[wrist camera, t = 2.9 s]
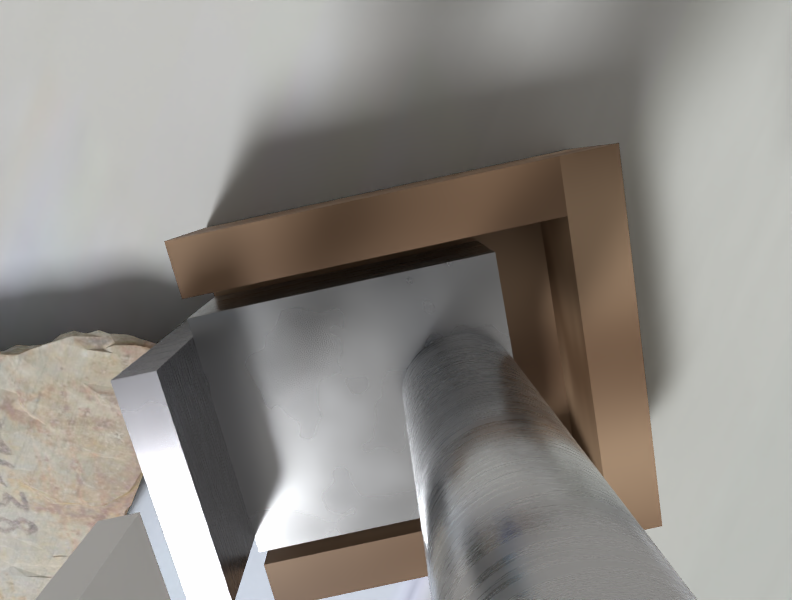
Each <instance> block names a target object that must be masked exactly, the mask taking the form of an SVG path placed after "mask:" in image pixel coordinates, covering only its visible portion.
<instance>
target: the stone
mask: <svg viewBox="0 0 792 600" xmlns="http://www.w3.org/2000/svg"><path fill="white" fill-rule="evenodd" d="M154 345H156V343H153V342H149V341H146V340H143V339H139V338H137V337H135V336H131V335H126V334H109V333H106V332H103V331H100V330H97V331H94V332H90V333H82V332H77V331H75V330H74V331H71V332H68V333H64V334H61V335H59V336H58V337H57V338H56V339H55V340H53V341H52V342H49V343H46V344H43V345H32V346H25V345H15V346H13V347H11V348H9V349H6V350H4V351H0V600H35V599H36V598H37V597H38V595H39V594H40V593H41V592H42V590H43V589H44V588H45V587H46V585H47V584H48V583H49V582H50V580H51V579H52V578H53V577H54V575H55V574H56V573H57V572H58V570H59V569H60V568H61V567H62V565H63V564H64V563H65V561H66V560H67V559H68V558H69V556H70V555H71V554H72V553H73V551H74V550H75V549H76V548H77V546H78V545H79V544H80V543H81V541H82V540H83V539H84V538H85V536H86V535H87V534H88V533H89V531H90V530H91V529H92V528H93V526H94V525H95V524H96V523H97V521H101V520H105V519H110V518H115V517H119V516H124V515H127V512H128V510H129V507H130V506H131V504H132V502H133V499H134V497H135V494H136V492H137V489H138V487H139V484H140V482H141V479H142V477H143V472H142V470H141V467H140V464H139V461H138V458H137V455H136V453H135V450H134V447H133V444H132V441H131V438H130V436H129V433H128V430H127V427H126V424H125V421H124V418H123V416H122V413H121V410H120V407H119V404H118V401H117V399H116V396H115V393H114V390H113V387H112V384H111V380H112V379H113V378H114V377H116V376H117V375H118V374H119V373H121V372H122V371H123V370H124V369H126V368H127V367H128V366H129V365H131V364H132V363H133V362H134V361H136V360H137V359H138V358H139V357H141V356H142V355H143V354H144V353H146V352H147V351H148V350H149V349H151V348H152V347H153V346H154Z"/></svg>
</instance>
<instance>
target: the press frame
mask: <svg viewBox="0 0 792 600" xmlns="http://www.w3.org/2000/svg"><path fill="white" fill-rule="evenodd" d="M472 241H478V242H480V243H482V244H483V245H485V246H486V247H488V248H489V249H491V250H493V251H494V252H495V254H496V260H497V266H498V272H499V278H500V283H501V289H502V295H503V301H504V307H505V313H506V319H507V325H508V330H509V336H510V342H511V348H512V354H513V359H514V361H515V362H516V363H517V365H518V366H519V367H520V369H521V370H522V371H523V373H524V374H525V375H526V376H527V378H528V379H529V380H530V382H531V383H532V384H533V386H534V387H535V388H536V390H537V391H538V392H539V393H540V395H541V396H542V397H543V399H544V400H545V401H546V403H547V404H548V405H549V407H550V408H551V409H552V410H553V412H554V413H555V414H556V416H557V417H558V418H559V420H560V421H561V422H562V424H563V425H564V426H565V427H566V429H567V430H568V431H569V433H570V434H571V435H572V437H573V438H574V439H575V441H576V442H577V443H578V444H579V446H580V447H581V448H582V450H583V451H584V452H585V454H586V455H587V456H588V458H589V459H590V460H591V461H592V463H593V464H594V465H595V467H596V468H597V469H598V471H599V472H600V473H601V475H602V476H603V477H604V478H605V480H606V481H607V482H608V484H609V485H610V486H611V488H612V489H613V490H614V492H615V493H616V494H617V495H618V497H619V498H620V499H621V501H622V502H623V503H624V505H625V506H626V507H627V509H628V510H629V511H630V512H631V514H632V515H633V516H634V518H635V519H636V520H637V522H638V523H639V524H640V526H641V527H642V528H643V529H644V530H646V529H650V528H655V527H660V526H662V520H661V511H660V503H659V494H658V485H657V476H656V467H655V458H654V449H653V441H652V432H651V423H650V414H649V405H648V396H647V388H646V379H645V370H644V361H643V352H642V343H641V334H640V326H639V317H638V308H637V299H636V290H635V281H634V273H633V264H632V255H631V246H630V237H629V228H628V219H627V211H626V202H625V193H624V184H623V175H622V166H621V158H620V149H619V143H616V144H608V145H599V146H591V147H583V148H574V149H568V150H563V151H558V152H554V153H549V154H544V155H540V156H535V157H531V158H526V159H521V160H517V161H512V162H507V163H503V164H498V165H494V166H489V167H484V168H480V169H475V170H470V171H466V172H461V173H457V174H452V175H447V176H443V177H438V178H433V179H429V180H424V181H420V182H415V183H410V184H406V185H401V186H397V187H392V188H387V189H383V190H378V191H373V192H369V193H364V194H360V195H355V196H350V197H346V198H341V199H336V200H332V201H327V202H323V203H318V204H313V205H309V206H304V207H299V208H295V209H290V210H286V211H281V212H276V213H272V214H267V215H262V216H258V217H253V218H249V219H244V220H239V221H235V222H230V223H225V224H221V225H216V226H212V227H207V228H203V229H200V230H197V231H194V232H191V233H188V234H185V235H182V236H179V237H176V238H173V239H170V240H167V241H164V242H165V245H166V248H167V252H168V255H169V258H170V261H171V265H172V268H173V271H174V274H175V278H176V281H177V284H178V287H179V291H180V294H181V297H182V299H185V298H190V297H194V296H199V295H203V294H208V293H214V296H215V297H217V296H222V295H227V294H231V293H236V292H240V291H245V290H250V289H254V288H259V287H264V286H268V285H273V284H277V283H282V282H287V281H291V280H296V279H301V278H305V277H310V276H315V275H319V274H324V273H328V272H333V271H338V270H342V269H347V268H352V267H356V266H361V265H366V264H370V263H375V262H379V261H384V260H389V259H393V258H398V257H403V256H407V255H412V254H416V253H421V252H426V251H430V250H435V249H440V248H444V247H449V246H454V245H458V244H463V243H467V242H472ZM264 566H265V570H266V573H267V576H268V579H269V583H270V586H271V589H272V592H273V596H274V599H275V600H318V599H322V598H327V597H332V596H336V595H341V594H346V593H351V592H355V591H360V590H365V589H369V588H374V587H379V586H383V585H388V584H393V583H397V582H402V581H407V580H411V579H416V578H421V577H425V576H428V571H427V564H426V557H425V550H424V543H423V536H422V529H421V522H420V518H417V519H413V520H408V521H403V522H399V523H394V524H389V525H385V526H380V527H375V528H371V529H366V530H361V531H357V532H352V533H347V534H343V535H338V536H333V537H329V538H324V539H319V540H315V541H310V542H305V543H300V544H296V545H291V546H286V547H282V548H277V549H272V550H268V552H267V556H266V560H265V563H264Z"/></svg>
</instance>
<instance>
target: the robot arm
mask: <svg viewBox="0 0 792 600" xmlns="http://www.w3.org/2000/svg"><path fill="white" fill-rule="evenodd" d="M35 600H170V597H169V594H168V591H167V588H166V585H165V583H164V580H163V577H162V574H161V571H160V569H159V566H158V563H157V560H156V557H155V554H154V552H153V549H152V546H151V543H150V540H149V538H148V535H147V532H146V529H145V526H144V524H143V521H142V518H141V515H140V512H138V513H134V514H129V515H124V516H119V517H115V518H110V519H105V520H101V521H97V523H96V524H95V525H94V526H93V528H92V529H91V530H90V531H89V533H88V534H87V535H86V536H85V538H84V539H83V540H82V541H81V543H80V544H79V545H78V546H77V548H76V549H75V550H74V551H73V553H72V554H71V555H70V556H69V558H68V559H67V560H66V561H65V563H64V564H63V565H62V567H61V568H60V569H59V570H58V572H57V573H56V574H55V575H54V577H53V578H52V579H51V580H50V582H49V583H48V584H47V585H46V587H45V588H44V589H43V590H42V592H41V593H40V594H39V595H38V597H37V598H36V599H35Z"/></svg>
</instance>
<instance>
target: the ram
mask: <svg viewBox="0 0 792 600" xmlns="http://www.w3.org/2000/svg"><path fill="white" fill-rule="evenodd" d="M187 319H188V320H186V321H185V322H183V323H182V324H181V325H180V326H178V327H177V328H176V329H175V330H173V331H172V332H171V333H170V334H168V335H167V336H166V337H165V338H163V339H162V340H161V341H160V342H158V343H157V344H156V345H154V346H153V347H152V348H151V349H149V350H148V351H147V352H146V353H144V354H143V355H142V356H141V357H139V358H138V359H137V360H136V361H134V362H133V363H132V364H131V365H129V366H128V367H127V368H126V369H124V370H123V371H122V372H121V373H119V374H118V375H117V376H116V377H114V378H113V379H112V380H111V384H112V387H113V390H114V393H115V396H116V399H117V401H118V404H119V407H120V410H121V413H122V416H123V418H124V421H125V424H126V427H127V430H128V433H129V436H130V438H131V441H132V444H133V447H134V450H135V453H136V455H137V458H138V461H139V464H140V467H141V470H142V472H143V475H144V478H145V481H146V484H147V487H148V490H149V492H150V495H151V498H152V501H153V504H154V507H155V509H156V512H157V515H158V518H159V521H160V524H161V527H162V529H163V532H164V535H165V538H166V541H167V544H168V546H169V549H170V552H171V555H172V558H173V561H174V564H175V566H176V569H177V572H178V575H179V578H180V581H181V583H182V586H183V589H184V592H185V595H186V598H187V600H235V597H236V594H237V591H238V588H239V585H240V582H241V579H242V576H243V572H244V569H245V566H246V563H247V560H248V557H249V554H250V550H251V547H252V544H253V541H254V538H255V540H256V543H257V546H258V549H259V552H263V551H268V550H272V549H277V548H282V547H286V546H291V545H296V544H300V543H305V542H310V541H315V540H319V539H324V538H329V537H333V536H338V535H343V534H347V533H352V532H357V531H361V530H366V529H371V528H375V527H380V526H385V525H389V524H394V523H399V522H403V521H408V520H413V519H417V518H420V522H421V529H422V536H423V543H424V550H425V557H426V564H427V571H428V578H429V585H430V592H431V599H432V600H697V599H696V597H695V596H694V595H693V594H692V592H691V591H690V590H689V588H688V587H687V586H686V584H685V583H684V582H683V580H682V579H681V578H680V577H679V575H678V574H677V573H676V571H675V570H674V569H673V567H672V566H671V565H670V563H669V562H668V561H667V560H666V558H665V557H664V556H663V554H662V553H661V552H660V550H659V549H658V548H657V546H656V545H655V544H654V543H653V541H652V540H651V539H650V537H649V536H648V535H647V533H646V532H645V531H644V529H643V528H642V527H641V526H640V524H639V523H638V522H637V520H636V519H635V518H634V516H633V515H632V514H631V512H630V511H629V510H628V509H627V507H626V506H625V505H624V503H623V502H622V501H621V499H620V498H619V497H618V495H617V494H616V493H615V492H614V490H613V489H612V488H611V486H610V485H609V484H608V482H607V481H606V480H605V478H604V477H603V476H602V475H601V473H600V472H599V471H598V469H597V468H596V467H595V465H594V464H593V463H592V461H591V460H590V459H589V458H588V456H587V455H586V454H585V452H584V451H583V450H582V448H581V447H580V446H579V444H578V443H577V442H576V441H575V439H574V438H573V437H572V435H571V434H570V433H569V431H568V430H567V429H566V427H565V426H564V425H563V424H562V422H561V421H560V420H559V418H558V417H557V416H556V414H555V413H554V412H553V410H552V409H551V408H550V407H549V405H548V404H547V403H546V401H545V400H544V399H543V397H542V396H541V395H540V393H539V392H538V391H537V390H536V388H535V387H534V386H533V384H532V383H531V382H530V380H529V379H528V378H527V376H526V375H525V374H524V373H523V371H522V370H521V369H520V367H519V366H518V365H517V363H516V362H515V361H514V359H513V354H512V348H511V342H510V336H509V330H508V325H507V319H506V313H505V307H504V301H503V295H502V289H501V283H500V278H499V272H498V266H497V260H496V254H495V252H494V251H493V250H491V249H489V248H488V247H486V246H485V245H483V244H482V243H480V242H478V241H472V242H467V243H463V244H458V245H454V246H449V247H444V248H440V249H435V250H430V251H426V252H421V253H416V254H412V255H407V256H403V257H398V258H393V259H389V260H384V261H379V262H375V263H370V264H366V265H361V266H356V267H352V268H347V269H342V270H338V271H333V272H328V273H324V274H319V275H315V276H310V277H305V278H301V279H296V280H291V281H287V282H282V283H277V284H273V285H268V286H264V287H259V288H254V289H250V290H245V291H240V292H236V293H231V294H227V295H222V296H217V297H214V298H213V299H211V300H210V301H209V302H208V303H206V304H205V305H204V306H202V307H201V308H200V309H199V310H197V311H196V312H195V313H194V314H192V315H191V316H190V317H189V318H187Z"/></svg>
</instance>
